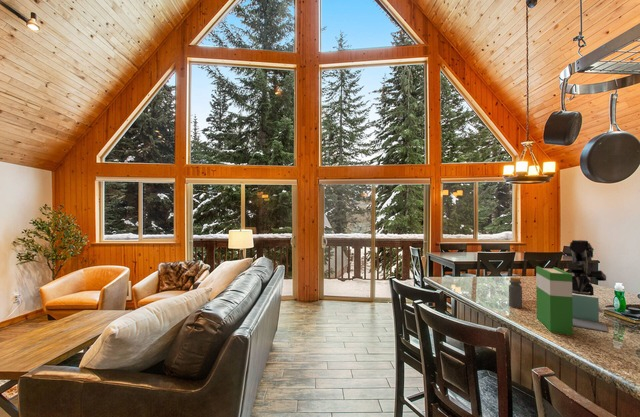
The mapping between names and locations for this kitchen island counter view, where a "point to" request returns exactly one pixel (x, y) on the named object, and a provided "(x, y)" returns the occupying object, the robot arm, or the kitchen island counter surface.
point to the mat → (589, 325)
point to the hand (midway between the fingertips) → (579, 291)
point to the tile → (585, 307)
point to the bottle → (515, 292)
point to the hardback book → (554, 299)
